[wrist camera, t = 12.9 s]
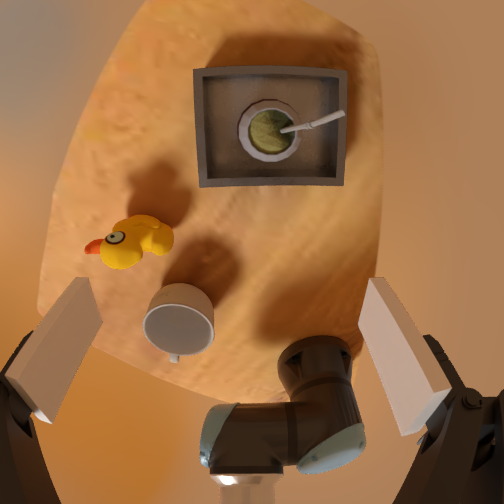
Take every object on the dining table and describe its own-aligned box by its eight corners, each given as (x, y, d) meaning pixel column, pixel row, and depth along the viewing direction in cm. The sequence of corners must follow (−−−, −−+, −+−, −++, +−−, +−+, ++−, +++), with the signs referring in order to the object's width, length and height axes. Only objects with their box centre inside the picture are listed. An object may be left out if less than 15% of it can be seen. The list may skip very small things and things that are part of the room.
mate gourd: (230, 142, 35) (219, 164, 22) (253, 85, 32) (257, 71, 18) (284, 163, 36) (306, 198, 23) (309, 109, 33) (347, 111, 20)
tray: (331, 175, 38) (343, 186, 33) (205, 176, 38) (199, 187, 33) (333, 74, 32) (347, 70, 27) (200, 74, 32) (192, 69, 27)
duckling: (111, 240, 42) (82, 274, 34) (108, 208, 40) (76, 237, 31) (179, 246, 43) (162, 284, 34) (179, 213, 41) (160, 244, 32)
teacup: (165, 263, 44) (151, 294, 37) (228, 289, 47) (225, 322, 40) (145, 322, 50) (133, 353, 43) (199, 343, 53) (193, 375, 46)
